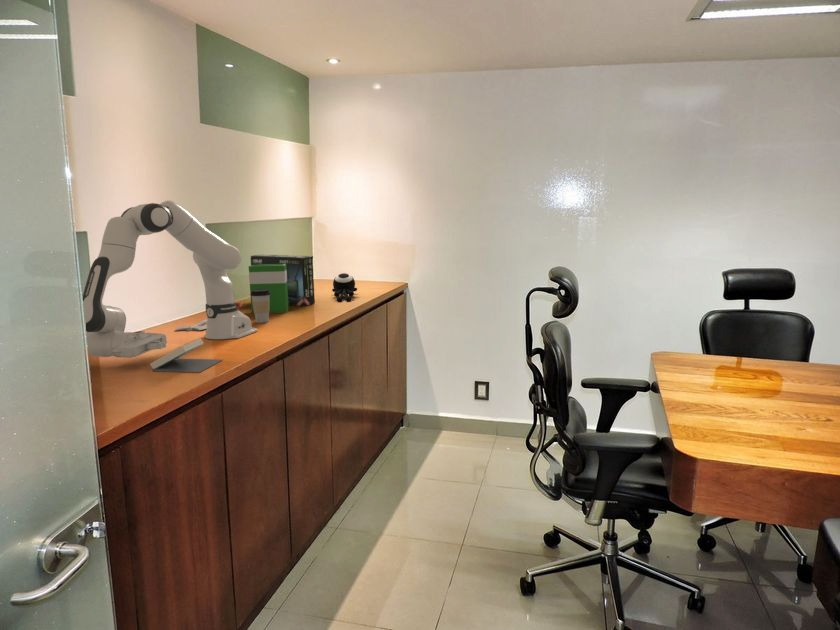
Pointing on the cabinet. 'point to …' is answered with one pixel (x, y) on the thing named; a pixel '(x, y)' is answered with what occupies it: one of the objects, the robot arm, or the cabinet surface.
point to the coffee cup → (261, 304)
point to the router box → (293, 276)
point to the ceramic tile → (176, 353)
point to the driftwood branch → (194, 326)
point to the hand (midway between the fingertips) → (163, 345)
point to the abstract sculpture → (344, 286)
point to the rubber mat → (188, 365)
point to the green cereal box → (271, 284)
